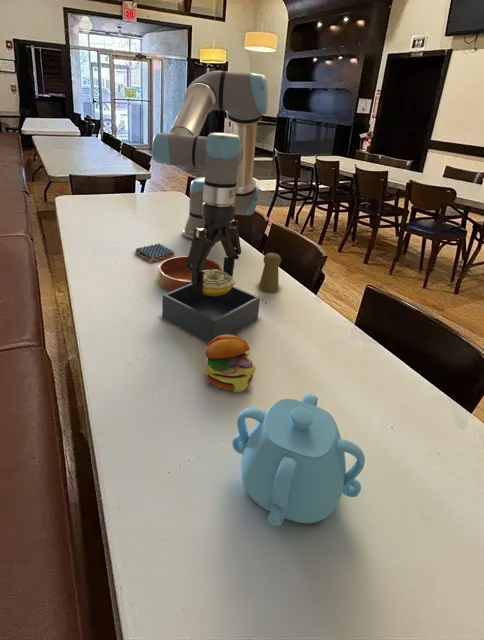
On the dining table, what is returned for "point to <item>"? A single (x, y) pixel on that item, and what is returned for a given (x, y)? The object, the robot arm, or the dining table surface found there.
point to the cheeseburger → (229, 363)
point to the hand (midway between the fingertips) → (212, 288)
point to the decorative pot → (296, 460)
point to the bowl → (179, 272)
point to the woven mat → (154, 252)
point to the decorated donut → (216, 282)
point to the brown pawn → (270, 273)
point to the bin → (210, 311)
